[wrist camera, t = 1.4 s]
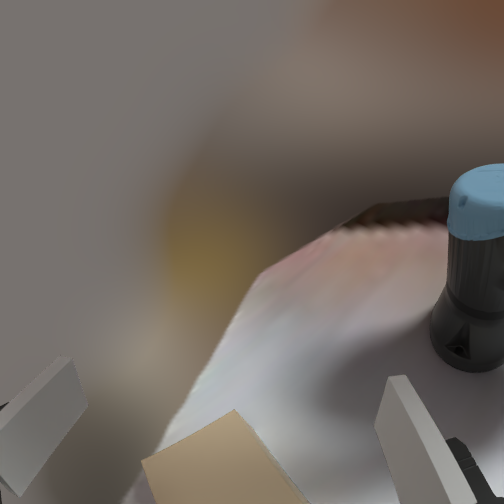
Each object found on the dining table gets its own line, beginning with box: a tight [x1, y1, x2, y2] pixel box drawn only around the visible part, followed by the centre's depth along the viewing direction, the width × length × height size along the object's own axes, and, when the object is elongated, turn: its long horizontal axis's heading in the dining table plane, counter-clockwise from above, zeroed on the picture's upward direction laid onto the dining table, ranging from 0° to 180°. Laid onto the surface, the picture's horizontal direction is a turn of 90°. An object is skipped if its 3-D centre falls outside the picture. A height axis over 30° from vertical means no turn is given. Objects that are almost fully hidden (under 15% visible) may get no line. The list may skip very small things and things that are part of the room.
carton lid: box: [141, 409, 303, 504], centre depth 18 cm, size 20×14×12 cm
